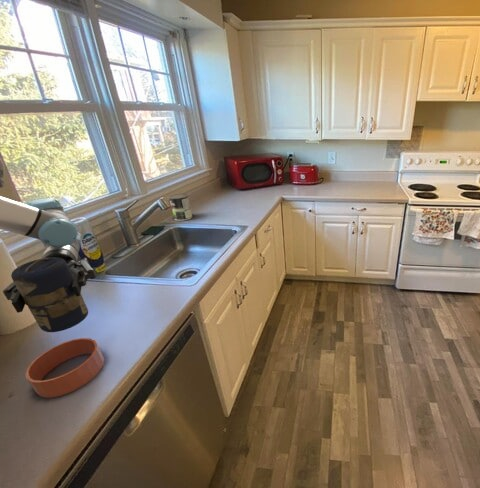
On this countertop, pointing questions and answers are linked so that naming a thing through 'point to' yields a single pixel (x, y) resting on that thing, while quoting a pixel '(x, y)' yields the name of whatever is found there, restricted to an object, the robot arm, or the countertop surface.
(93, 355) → the ring
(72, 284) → the robot arm
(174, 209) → the coffee can
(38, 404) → the countertop surface
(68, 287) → the canister
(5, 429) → the countertop surface
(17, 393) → the countertop surface
